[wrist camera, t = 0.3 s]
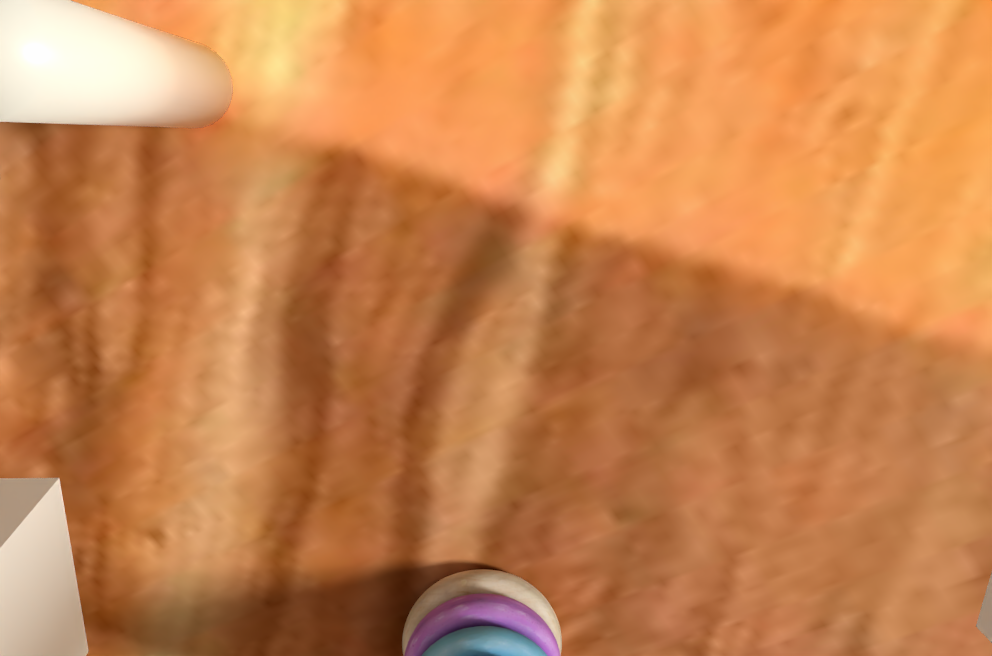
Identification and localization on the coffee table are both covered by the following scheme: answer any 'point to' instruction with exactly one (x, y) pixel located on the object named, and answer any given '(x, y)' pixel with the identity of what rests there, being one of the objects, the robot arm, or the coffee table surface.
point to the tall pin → (104, 70)
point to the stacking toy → (482, 618)
